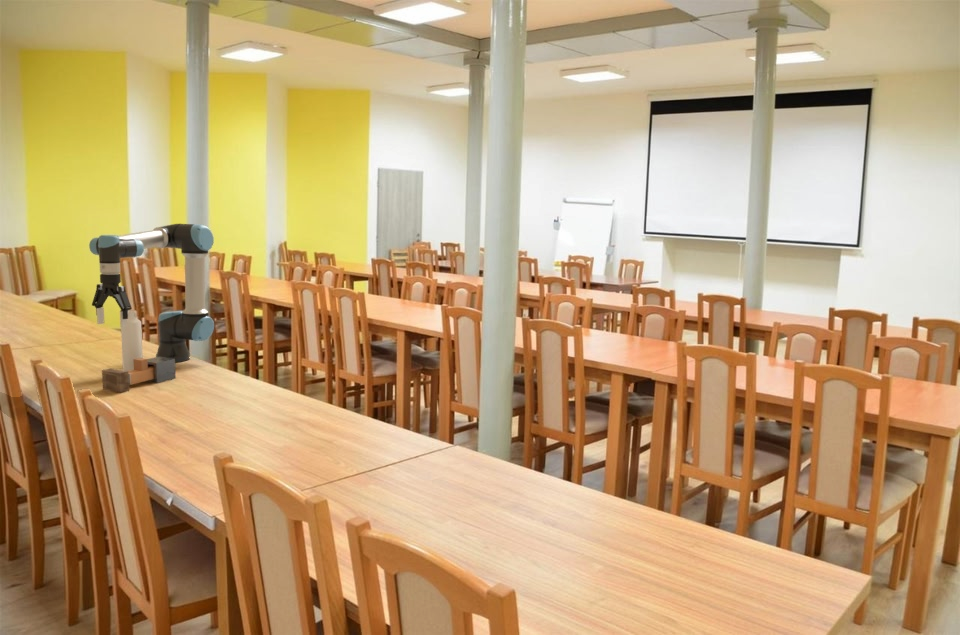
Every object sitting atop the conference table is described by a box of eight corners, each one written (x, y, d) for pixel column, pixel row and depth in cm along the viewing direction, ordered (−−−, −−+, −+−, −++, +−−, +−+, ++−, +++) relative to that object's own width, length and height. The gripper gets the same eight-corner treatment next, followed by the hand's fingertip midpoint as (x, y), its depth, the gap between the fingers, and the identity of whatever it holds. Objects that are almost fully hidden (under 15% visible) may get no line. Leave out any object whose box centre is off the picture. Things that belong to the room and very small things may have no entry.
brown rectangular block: (111, 387, 306) (110, 368, 305) (129, 390, 302) (128, 371, 301) (102, 389, 302) (101, 370, 301) (120, 393, 298) (119, 373, 297)
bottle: (138, 376, 325) (135, 312, 321) (119, 376, 325) (116, 312, 321) (146, 372, 333) (144, 310, 329) (128, 372, 333) (125, 309, 329)
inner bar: (161, 373, 326) (160, 353, 324) (168, 375, 324) (168, 354, 322) (122, 383, 307) (121, 361, 306) (130, 384, 306) (129, 363, 304)
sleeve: (160, 375, 328) (159, 356, 327) (175, 378, 324) (174, 358, 323) (141, 380, 319) (140, 360, 318) (157, 383, 315) (156, 363, 314)
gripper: (80, 271, 306) (83, 323, 310) (123, 276, 296) (126, 329, 299) (97, 270, 313) (99, 321, 316) (139, 274, 303) (141, 327, 306)
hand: (112, 325), depth 308 cm, fingers open, 13 cm apart
